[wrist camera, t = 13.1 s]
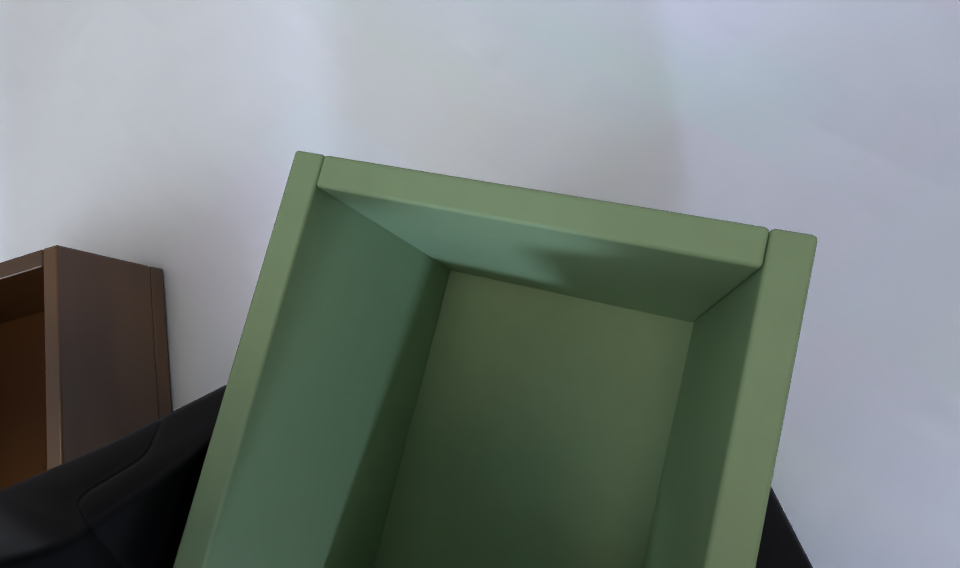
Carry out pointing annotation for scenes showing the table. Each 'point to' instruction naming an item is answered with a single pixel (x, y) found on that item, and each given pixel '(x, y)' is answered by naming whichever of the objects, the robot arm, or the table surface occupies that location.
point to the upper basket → (499, 382)
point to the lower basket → (77, 356)
